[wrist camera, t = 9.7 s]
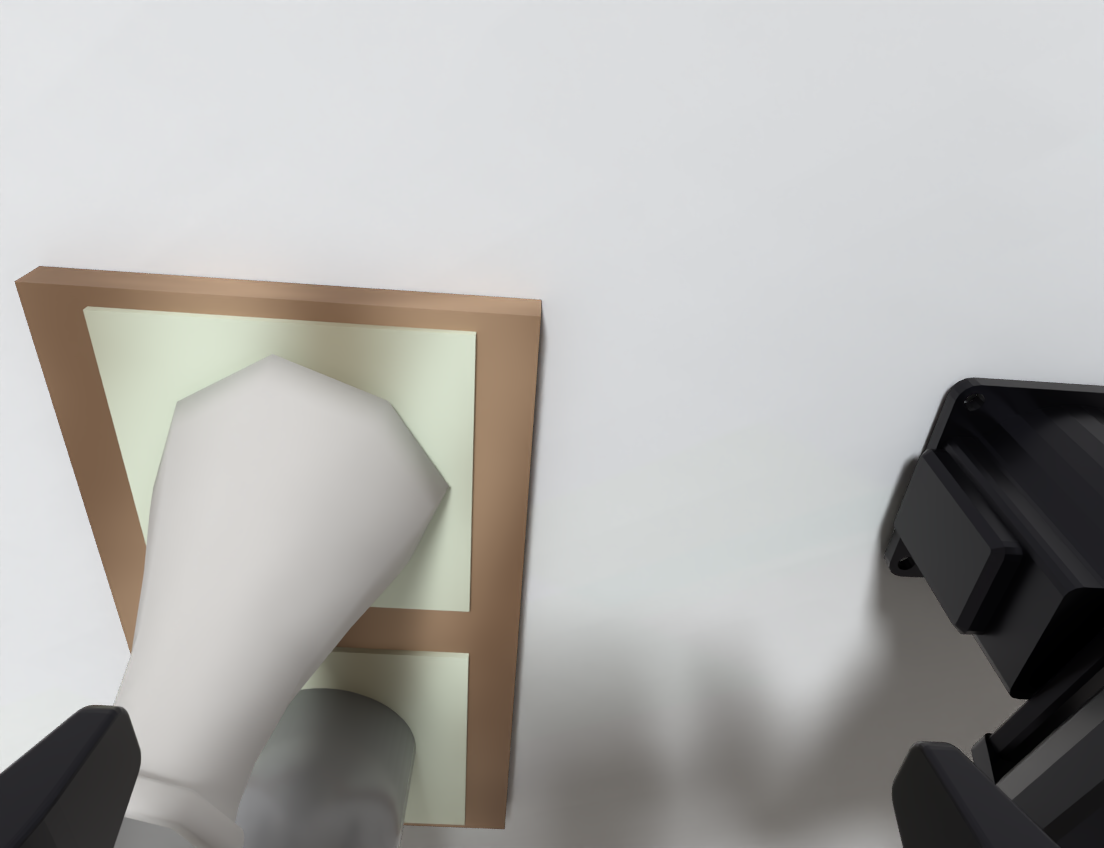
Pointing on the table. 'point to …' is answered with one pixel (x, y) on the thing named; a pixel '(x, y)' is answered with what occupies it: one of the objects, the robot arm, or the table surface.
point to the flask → (256, 578)
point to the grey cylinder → (330, 776)
